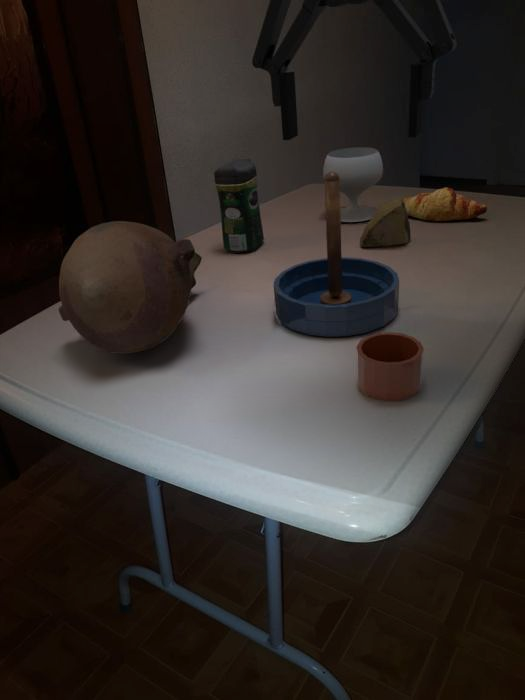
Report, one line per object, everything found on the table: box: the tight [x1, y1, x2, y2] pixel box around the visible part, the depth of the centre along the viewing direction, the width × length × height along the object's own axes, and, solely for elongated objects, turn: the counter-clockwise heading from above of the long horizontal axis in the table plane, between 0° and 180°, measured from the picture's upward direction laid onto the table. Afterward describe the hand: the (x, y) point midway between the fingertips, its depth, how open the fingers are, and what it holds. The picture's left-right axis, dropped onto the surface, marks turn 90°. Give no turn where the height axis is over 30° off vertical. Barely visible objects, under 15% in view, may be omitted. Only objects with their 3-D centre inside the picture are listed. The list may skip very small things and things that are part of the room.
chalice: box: [322, 146, 384, 223], centre depth 133 cm, size 14×14×15 cm
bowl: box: [273, 256, 400, 338], centre depth 90 cm, size 20×20×6 cm
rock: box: [359, 198, 412, 248], centre depth 117 cm, size 11×9×10 cm
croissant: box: [403, 186, 488, 222], centre depth 129 cm, size 21×10×8 cm, turn 59°
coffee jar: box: [213, 158, 265, 254], centre depth 120 cm, size 10×8×19 cm
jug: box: [58, 220, 203, 354], centre depth 89 cm, size 20×20×30 cm
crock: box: [355, 331, 425, 402], centre depth 70 cm, size 8×8×6 cm
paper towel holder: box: [320, 172, 351, 305], centre depth 86 cm, size 5×5×22 cm
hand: (349, 136), depth 59 cm, fingers open, 13 cm apart
